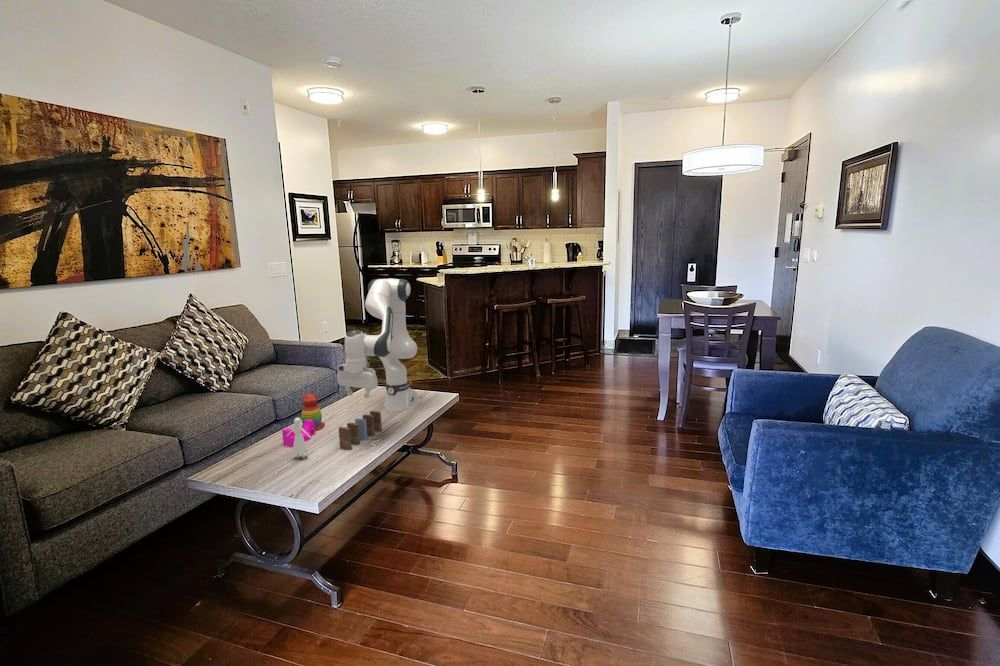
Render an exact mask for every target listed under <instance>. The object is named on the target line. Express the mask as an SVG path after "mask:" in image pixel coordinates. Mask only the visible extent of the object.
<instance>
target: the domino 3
mask: <svg viewBox="0 0 1000 666" xmlns="http://www.w3.org/2000/svg"><path fill="white" fill-rule="evenodd" d="M354 423H357V424H358V426H359V440H360V441H367V440H368V435H367V425H366V420H365V419H363V418H355V419H354Z"/></svg>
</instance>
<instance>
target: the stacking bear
mask: <svg viewBox="0 0 1000 666" xmlns="http://www.w3.org/2000/svg"><path fill="white" fill-rule="evenodd" d="M318 400H319V399H318V394H316V393H315V394H311V393H308V394H307V395H306V394H304V395H303V396H302V403H303V405H304V406H303V407H302V410H301V416H300V417H301V418H300V419H301V424H302V425H301V426H302V428H303V427H304V423H305V420H307V419H310V420H314V427H315V432H318V431H320V429H321V430H322V429H324V428H325V426H326V423H325V422H324V421H322V420H323V419H322V418H323V417H322V415H323V414H322V411H321V408H320V406H319V405H318Z"/></svg>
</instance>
